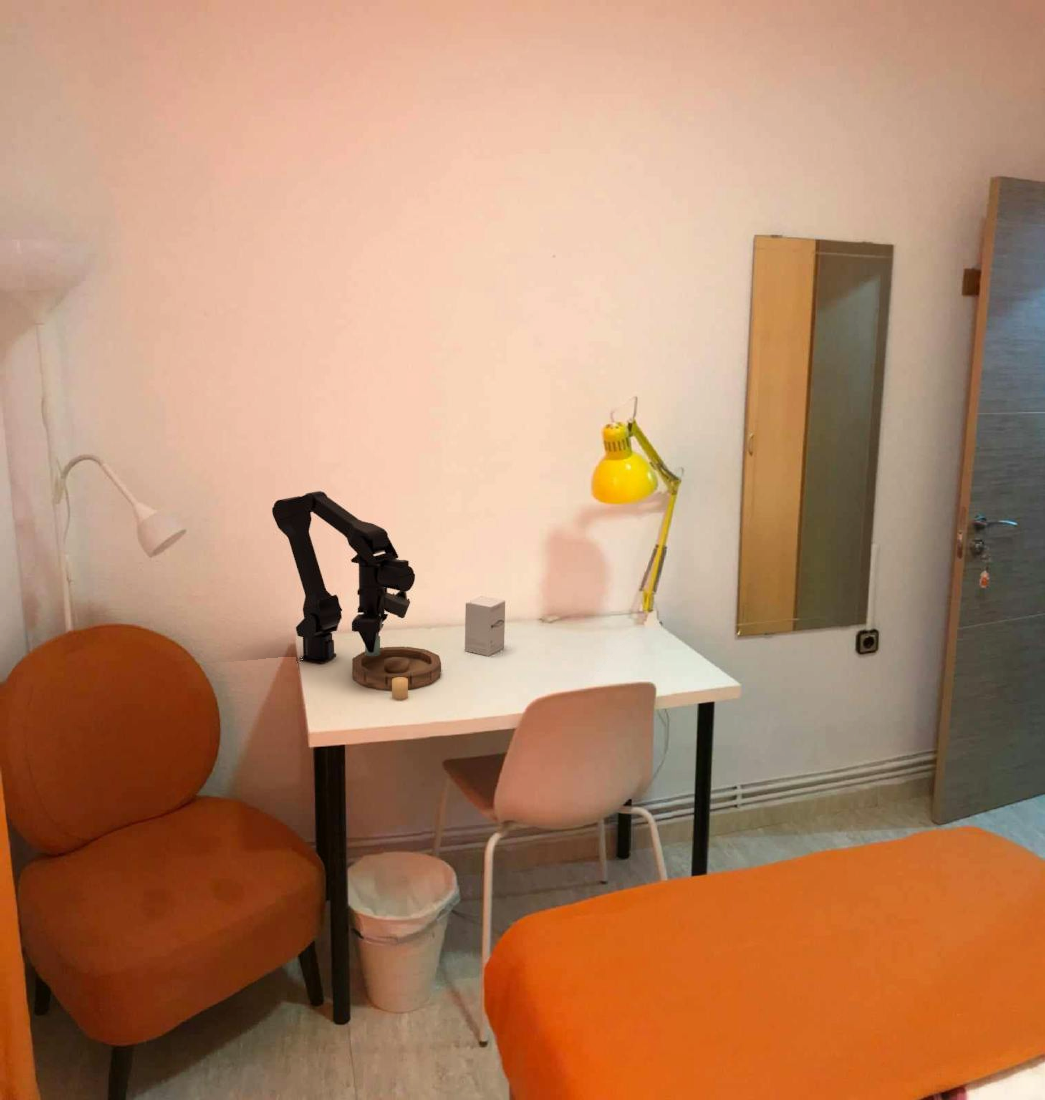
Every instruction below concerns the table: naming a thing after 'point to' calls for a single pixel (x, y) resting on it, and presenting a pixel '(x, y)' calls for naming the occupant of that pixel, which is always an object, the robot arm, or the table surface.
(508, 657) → the table surface
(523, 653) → the table surface
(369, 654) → the bead
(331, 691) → the table surface
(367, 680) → the groove tray
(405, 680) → the bead
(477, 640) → the supplement box
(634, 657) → the table surface
